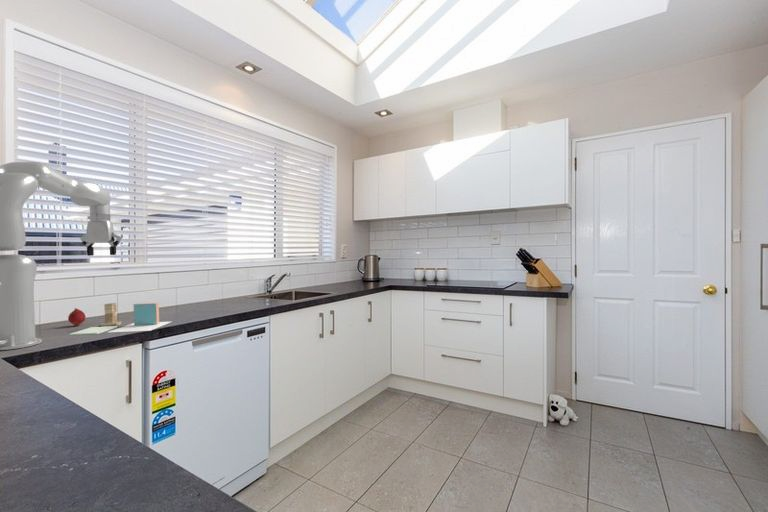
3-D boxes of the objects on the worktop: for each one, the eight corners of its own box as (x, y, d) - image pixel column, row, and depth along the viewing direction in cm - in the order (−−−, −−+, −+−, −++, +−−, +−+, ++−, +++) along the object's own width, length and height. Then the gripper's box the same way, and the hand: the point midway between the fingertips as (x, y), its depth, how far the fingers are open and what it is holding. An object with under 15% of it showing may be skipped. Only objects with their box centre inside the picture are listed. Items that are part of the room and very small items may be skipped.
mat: (150, 332, 142) (150, 330, 142) (106, 334, 140) (106, 332, 140) (172, 323, 160) (172, 321, 160) (133, 324, 158) (133, 323, 158)
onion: (88, 324, 162) (87, 306, 162) (81, 326, 157) (80, 308, 156) (73, 325, 161) (72, 307, 161) (65, 327, 155) (64, 309, 155)
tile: (156, 324, 153) (155, 303, 153) (133, 325, 152) (133, 304, 152) (159, 323, 155) (158, 302, 155) (137, 324, 154) (136, 303, 154)
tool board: (97, 335, 138) (97, 332, 138) (69, 337, 137) (69, 333, 137) (117, 329, 150) (117, 326, 150) (91, 330, 149) (91, 327, 149)
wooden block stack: (116, 327, 154) (115, 303, 154) (101, 327, 154) (100, 304, 153) (120, 325, 157) (120, 302, 157) (106, 326, 157) (105, 303, 156)
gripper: (74, 218, 164) (75, 255, 164) (115, 217, 166) (116, 255, 166) (86, 219, 171) (87, 255, 172) (125, 219, 173) (126, 254, 174)
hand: (101, 255), depth 169 cm, fingers open, 9 cm apart
